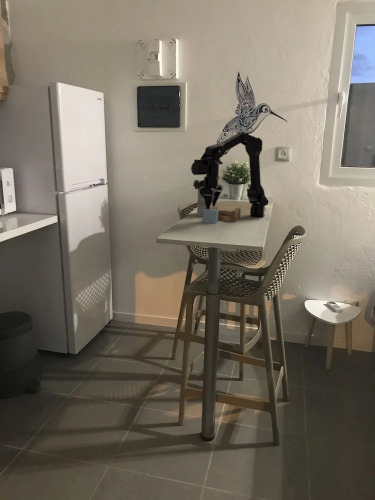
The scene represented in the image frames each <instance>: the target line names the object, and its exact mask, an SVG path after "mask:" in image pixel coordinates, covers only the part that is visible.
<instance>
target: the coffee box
mask: <svg viewBox="0 0 375 500" xmlns="http://www.w3.org/2000/svg"><path fill="white" fill-rule="evenodd" d="M201 188H203V187H201ZM201 188H198V189H197V203H196V204H197V207H196V208H197V209H196V216H197V217H203V209H207V208H206V204H205V200H204V198H203V197H202V196H201V194H199V190H200V189H201ZM211 207H213V206H212V203H211V206H210V208H211Z"/></svg>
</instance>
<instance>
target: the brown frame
mask: <svg viewBox="0 0 375 500" xmlns="http://www.w3.org/2000/svg"><path fill="white" fill-rule="evenodd" d="M218 208H219V207H218V206H217V205H215V206H212V207H211V208H209V209H211V210H218V221H223V222H224V221H225V222H232V223H233V222H234V223H236V222H238V221H239V220H240V219H241V210H242V209H241V208H240V207H239V208H238V207H237V208H234V209H233V210H232V211H230V210H221V209H220V210H219V209H218Z"/></svg>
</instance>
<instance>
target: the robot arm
mask: <svg viewBox="0 0 375 500" xmlns="http://www.w3.org/2000/svg"><path fill="white" fill-rule="evenodd" d="M240 144H241V145H243V146H244V148H245V149H244V150H245V152H246V154H247V155H248V160H249V161H248V162H249V163H248V164H249V176H250V186H249V188H247V189H246V197H247V198H248V202H249V204H251V206H250V213H249V215H250V217H255V218H264V216H266V214H265V209H266V206H268V204H269V199H268V198H267V197H266V194H265V189H264V187H263V186H262V184H261V166H260V165H261V164H260V155H261V153H262V151H263V139H261V138H260V137H256V136H254V135H251V134H249V133H247V132H245V131H244V132H243V131H239V132H237V133H236V134H234V135H233V136H231V137H229V138H227V139H225V140H223V141H222V142H220V143H216V144H211V145H208V146H206V147H205V149H204V152H203V154H202V155H201V157H200V159H194V160H193V161H194V162H193V163H192V164H191V167H190V170H191V171H190V172H191V173H192V174H193V176H202V175H203V177H204V178H203V179H201V180H200V179H194V181H193V185H192V186H193V187H194V189H195V190H198V188H201V187H203V188H201V189H200V190H199V194H201V196H202V197H203V198H204V200H205V204H206V208H207V209H209V208H210V206H211V203H212V207H213V206H217V205H216V204H217V202H218V201H219V198H220V196H221V194H222V192H223V191H224V186H223V185H222V184H219V179H220V177H221V176H219V173H220V171H219V168H220V165H223V164H224V163H223V161H222V160H221V158H222V157H223V156H224V155H225V153H226V152H227V151H229V150H231V149H232V148H234V147H236V146H238V145H240ZM204 175H205V176H204Z"/></svg>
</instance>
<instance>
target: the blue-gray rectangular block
mask: <svg viewBox="0 0 375 500" xmlns="http://www.w3.org/2000/svg"><path fill="white" fill-rule="evenodd" d="M218 210H219V209H218ZM218 210H211V209H203V216H202V220H201V221H202V223H210V224H211V223H212V224H217V223H218V222H219V220H218Z"/></svg>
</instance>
